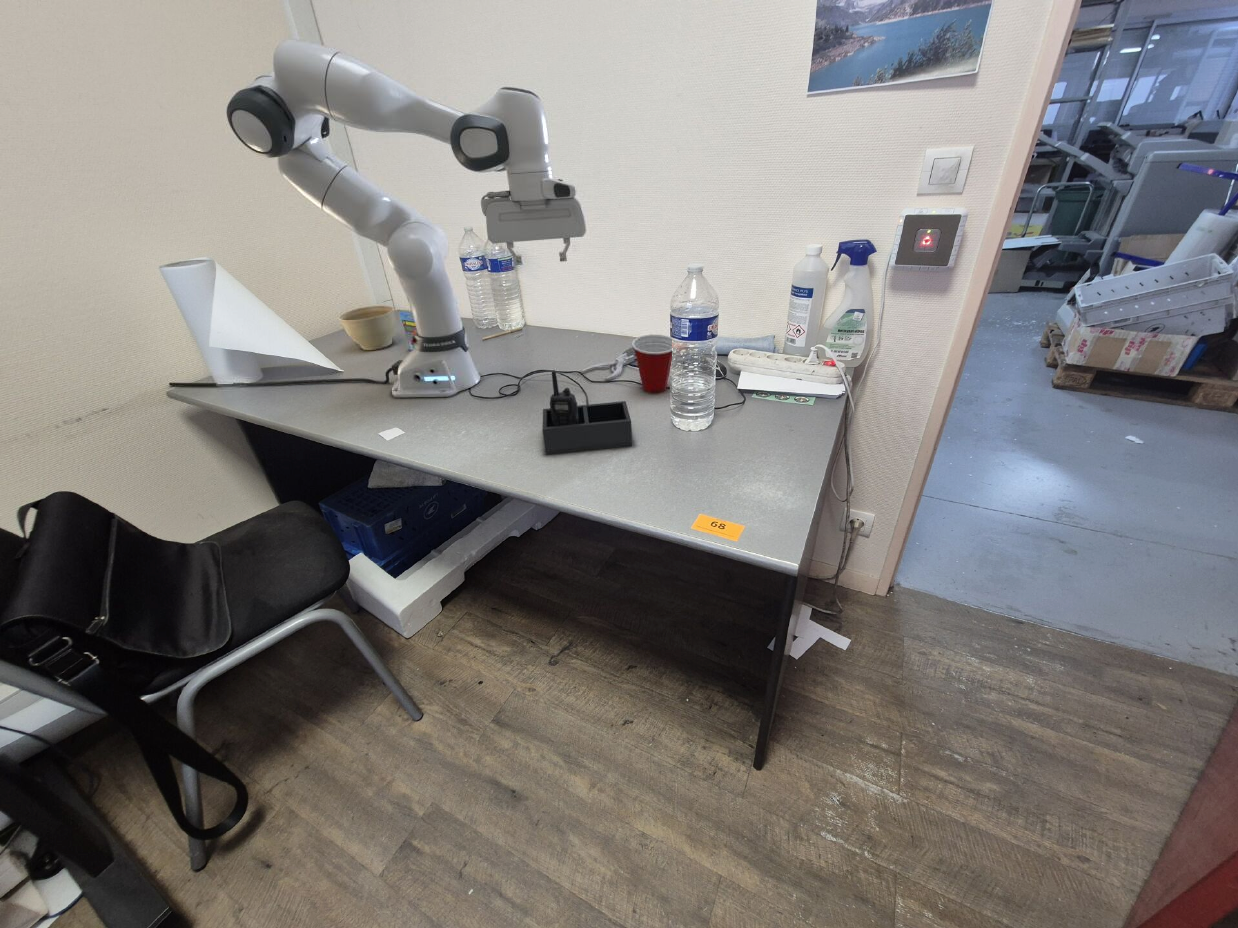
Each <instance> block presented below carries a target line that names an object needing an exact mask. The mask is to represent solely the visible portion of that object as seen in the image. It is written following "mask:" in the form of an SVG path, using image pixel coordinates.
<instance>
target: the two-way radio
mask: <svg viewBox="0 0 1238 928" xmlns="http://www.w3.org/2000/svg"><path fill="white" fill-rule="evenodd" d="M551 380H552V389H553V391H552V392H553V393H552V394H551V396H550V399H549V408H550V410H551V414H552V421H553V427H554V426H564V425H574V424H579V419H578V407H577V406H578V402H577V398H576V396H575V394H574V393H572V392H571V390H570V388H569V387H565V388H564V389H563V390H562V392H560V391H559V390H560V389H559V384H558V378H557V371H556V370H555V369H553V370H551Z"/></svg>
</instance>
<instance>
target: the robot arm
mask: <svg viewBox="0 0 1238 928" xmlns="http://www.w3.org/2000/svg"><path fill="white" fill-rule="evenodd" d="M272 67H273V70H270V71H268V72H266V73H265V72H264V73H263V74H261V75H259V76H257V77H256V78H255V79H254V80H253V81H252V82H251V83H249V84H248V85H246V87H244V88H242V89H240V90H238V91H237V92H236V93H234V94H233V96H232V97H231V99H230V100H229V102H228V104H227V107H226V118H227V122H228V125H229V127H230V129H231V130H232V132H233V133H234V135H235V136H236V138H237V139H238V140H239V141H240V142H241V144H243V145H244V146H245V147H246V148H247V149H248V150H250V151H251V152H252V153H254V154H256V155H258V156H261V157H264V158H267V159H273V158H277V168H278V171H279V174H280V175H281V176H282V177H283V178H284V180H285V181H287V182H288V183H289V184H290V185H291V186H292V188H294V189H295V190H297V191H298V193H300V194H301V195H302V196H303V197H305V198H306V199H307V200H308V201H309V202H311V203H312V204H313V205H315V206H316V207H317V208H319V209H320V210H322V211H324V212H325V213H326V214H327V215H329V216H330V217H332V218H333V219H335V220H336V221H338V222H339V223H341V224H342V225H343V226H345V227H346V228H347V229H349V230H350V231H352V232H354V233H355V234H356V235H358V236H360V237H363V238H365V239H368V240H370V241H372V242H375V243H377V244H379V245H381V246H383V247H384V248H386V257H387V260H388V263H389V265H390V266H391V269H393V271H394V272H395V274H396V276H397V279H398V281H399V283H400V286H401V288H402V290H403V292H404V294H405V297H406V299H407V302H408V305H409V307H410V310H411V313H412V315H413V318H414V322H415V325H416V329H417V330H415V331H414V332H413V334H412V335H413V336H412V337H411V341H410V342H411V345H413V347H414V349H413V350H410V352H409V353H408V354H407V355H406V356H405V358H404V359H398V360H397V361H396V362H395V363H393V364H391V366H390V367H389V368H388V369H387V370H386V371H385V375H384V376H385V380H383V381H378V380H374V379H370V378H365V377H364V378H361V377H359V378H358V377H357V378H356V377H355V378H323V379H299V380H273V381H249V382H250V383H244V382H232V383H233V384H217V383H218V382H168V385H169V386H171V387H174V386H175V387H238V386H240V387H242V386H243V387H244V386H245V387H246V386H270V385H271V386H272V385H295V384H318V383H319V384H321V383H350V382H351V383H352V382H362V383H363V382H365V383H369V384H377V385H385V384H388V383H389V382H390V373H391V372H392V374H393V375H394V376H397V380H396V381H395V382H394V384H393V385H392V387H391V394H392V396H393V397H394V398H448V397H452V396H453V395H455V394H457V393H459V392H462V391H464V390H467V389H469V388H472V387H474V386H475V385H477V384H478V383H479V382H480V380H481V375H480V374H479V372H478V370H477V367H476V366H475V364H474V361H473V359H472V356H471V353H470V350H469V349H470V343H469V338H468V333H467V331H466V329H465V326H464V325H463V322H462V318H461V313H460V309H459V303H458V299H457V296H456V295H457V294H456V293H455V292H454V290H453V287H452V285H451V282H450V279H449V276H448V273H447V270H446V265H445V261H446V259H447V257H448V255H449V252H450V251H449V249H450V248H449V247H450V244H449V240H448V237H447V235H446V233H445V231H444V230H443V228H442V227H441V226H439V225H438V224H437V223H435V222H434V221H432V220H430V219H429V218H427V217H425V215H423V214H422V213H419V212H418V211H417V210H414V208H412V207H410V206H408V205H407V204H405V203H403V202H402V201H400V200H398V199H397V198H395V197H393V196H392V195H390V194H388V193H387V192H386V191H385V190H383V189H381V188H379V187H378V186H377V185H376V184H375V183H373V182H372V181H370V180H369V179H367V177H365V176H364V175H362V174H361V173H359V172H358V171H357V170H355V169H354V168H353V167H351V166H350V165H349V164H347V163H346V162H344V161H343V160H342V159H340V158H339V157H337V156H336V155H335V154H334V153H333V152H331V151H330V150H329V148H328V147H327V146H326V145H325V143H324V140H323V139H325V138H327V137H329V136H330V131H331V128H330V121H331V120H332V121H335V122H337V123H339V124H342V125H344V126H347V127H350V128H354V129H357V130H363V131H369V132H374V133H375V132H376V133H404V134H406V133H407V134H416V135H421V136H425V137H428V138H431V139H434V140H436V141H439V142H441V143H443V144H447V145H450V147H451V151H452V153H453V155H454V157H455V159H456V160H457V162H458V163H459V164H460V165H461V166H462V167H464V168H465V169H467V170H468V171H471V172H475V173H491V172H497V173H502V172H505V171H506V177H507V183H508V190H500V191H488V192H486V194H484V195H483V196H481V199H480V207H481V211H482V214H483V216H484V217H485V222H486V223H485V224H486V235H487V239H488V241H489V242H490V243H491V244H504V243H505V244H506V248H507V250H508V252H509V253H510V254H511V256H512V257H513V259H514V264H515V266H521V265H522V266H523V263H524V262H523V255H522V254H518V253H517V252H516V250H515V243H518V242H520V243H521V242H532V241H544V240H557V239H559V240H560V239H563V240H562V241H563V244H564V247H563V249H562V251H559V252H558V254H559V255H558V256H559V262H560V263H561V262H562V263H563V262H568V258H567V253H568V251H569V248H570V245H571V238H582V237H584V236H585V235H586V233H587V225H586V224H587V223H586V219H585V218H586V217H585V214H584V209H583V206H582V204H581V202H580V200H579V199H578V198H577V197H576V196H577V193H578V192H577V190H578V189H577V186H576V184H574V183H572V182H569V181H565V180H563V179H561V178H558V179H557V178H554V173H553V167H552V164H551V162H550V156H549V151H550V137H549V130H548V123H547V117H546V112H545V109H544V105H543V101H542V100H541V98H540V97H539V96H538V95H537V94H536V93H535V92H533V91H531V90H529V89H528V90H527V89H524V88H519V87H511V86H503V87H501V88H499V89H498V90H497V92H496V93H495V94H494V95H493V96H492V97H491V98H490V99H489V100H487V101H486V102H485V103H484V104H483V105H481V106H479V107H477V108H475V109H473V110H471V111H469V112H467V113H465V112H462V111H460V110H457V109H455V108H453V107H449V106H447V105H445V104H442V103H440V102H436V101H434V100H431V99H429V98H427V97H425V96H422V95H420V94H419V93H417V92H415V91H413V90H411V89H410V88H408V87H407V86H405V85H404V84H402V83H400V82H398V81H397V80H395V79H394V78H392V77H390V76H389V75H387V74H386V73H384V72H382V71H381V70H379V69H377V68H376V67H374V66H372V65H371V64H369V63H367V62H365V61H363V60H361V59H359V58H358V57H355V56H353V55H351V54H348V53H346V52H343V51H341V50H338V49H336V48H333V47H329V46H326V45H323V44H320V43H316V42H312V41H307V40H304V39H303V40H302V39H295V38H287V39H284V40H282V41H281V42H279V44H278V45H277V46H276V48H275V49H274V53H273V59H272ZM413 318H412V319H413Z"/></svg>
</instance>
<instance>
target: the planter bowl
mask: <svg viewBox="0 0 1238 928" xmlns="http://www.w3.org/2000/svg"><path fill="white" fill-rule="evenodd" d="M338 319H339V322H340V323H341V326H342V327H343V329H344V331H345V332H346V334H347V335H348V336H349V337H350V338H351V340H352V341H353V342H355V343H356V344H358V345H359V346H360V348H361V349H362V350H366V351H372V350H373V351H375V350H379V349H384V348H386V347H389V346H391V345H392V344H393V337H394V334H395V330H396V317H395V311H394V308H393V306H391V305H371V306H369V305H368V306H363V307H359V308H355V309H351V310H348V311H346V312H343V313H341V314H340V315H339V316H338Z"/></svg>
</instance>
